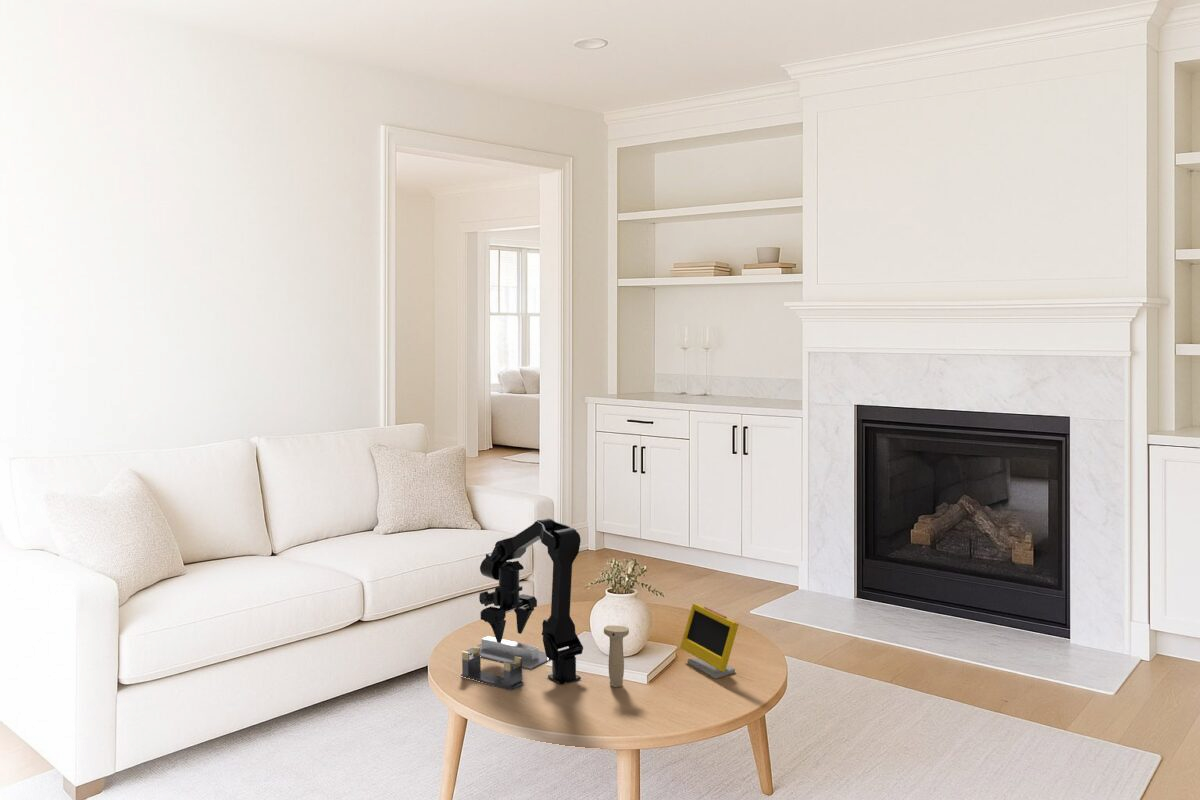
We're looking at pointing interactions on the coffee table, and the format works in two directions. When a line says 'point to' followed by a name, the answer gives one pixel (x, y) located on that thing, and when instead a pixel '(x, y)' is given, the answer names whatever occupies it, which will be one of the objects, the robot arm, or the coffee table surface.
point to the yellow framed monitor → (709, 641)
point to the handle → (616, 653)
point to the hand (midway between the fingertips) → (509, 637)
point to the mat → (510, 658)
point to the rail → (510, 648)
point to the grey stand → (508, 681)
